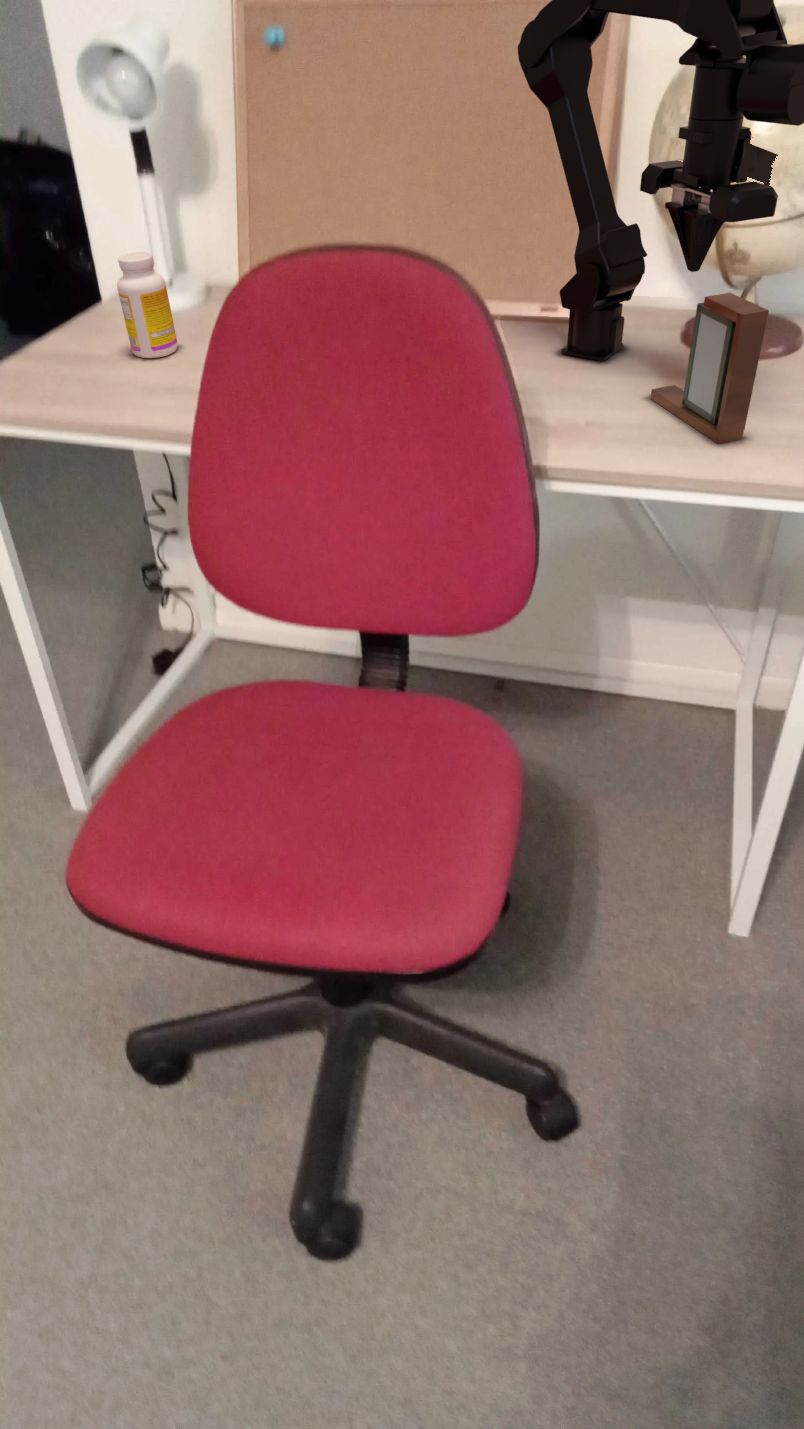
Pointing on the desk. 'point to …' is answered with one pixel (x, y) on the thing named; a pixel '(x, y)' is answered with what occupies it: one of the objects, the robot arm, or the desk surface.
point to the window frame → (738, 373)
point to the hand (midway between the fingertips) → (693, 270)
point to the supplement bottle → (146, 307)
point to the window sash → (708, 363)
